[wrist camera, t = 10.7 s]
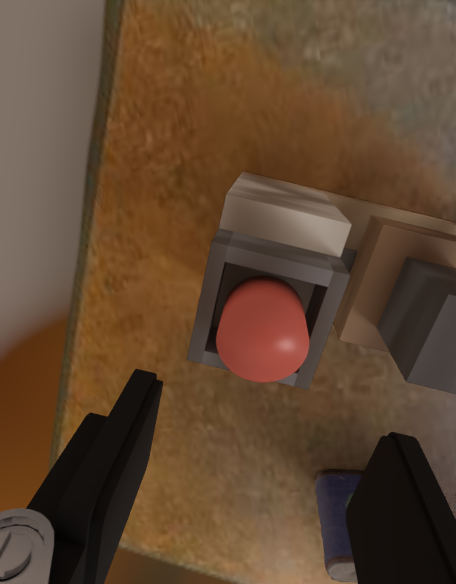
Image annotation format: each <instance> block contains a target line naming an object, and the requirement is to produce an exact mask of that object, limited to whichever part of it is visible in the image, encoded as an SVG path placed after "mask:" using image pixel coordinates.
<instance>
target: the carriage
mask: <svg viewBox="0 0 456 584" xmlns="http://www.w3.org/2000/svg"><path fill="white" fill-rule="evenodd" d="M333 323H334V326H335V329H336V332H337V335H338V338H339V340H340V341H344V342H349V343H353V344H357V345H361V346H365V347H369V348H373V349H377V350H381V351H385V352H389V353H391V355H392V357H393V359H394V361H395V362H396V364H397V366H398V368H399V370H400V372H401V373H402V375H403V377H404V379H405V381H406V382H409V383H413V384H417V385H421V386H425V387H429V388H433V389H437V390H441V391H445V392H449V393H453V394H456V235H453V234H449V233H444V232H440V231H436V230H432V229H428V228H424V227H420V226H415V225H411V224H407V223H403V222H399V221H395V220H391V219H386V218H382V217H378V216H374V215H371V217H370V220H369V222H368V225H367V228H366V231H365V233H364V236H363V239H362V242H361V244H360V247H359V250H358V252H357V255H356V258H355V261H354V263H353V266H352V269H351V272H350V278H349V281H348V283H347V286H346V289H345V292H344V294H343V297H342V300H341V302H340V305H339V308H338V311H337V313H336V316H335V319H334V321H333Z"/></svg>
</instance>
